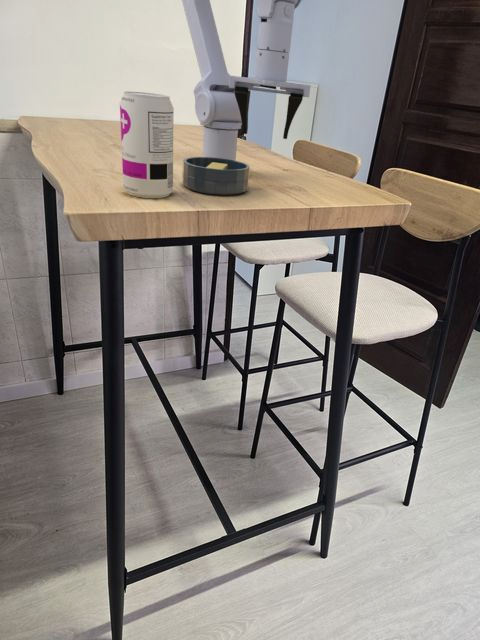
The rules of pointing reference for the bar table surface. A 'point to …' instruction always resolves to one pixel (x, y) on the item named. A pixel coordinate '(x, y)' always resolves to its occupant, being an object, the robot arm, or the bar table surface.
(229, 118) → the robot arm
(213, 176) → the bowl
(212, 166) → the butter
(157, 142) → the supplement can
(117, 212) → the bar table surface
